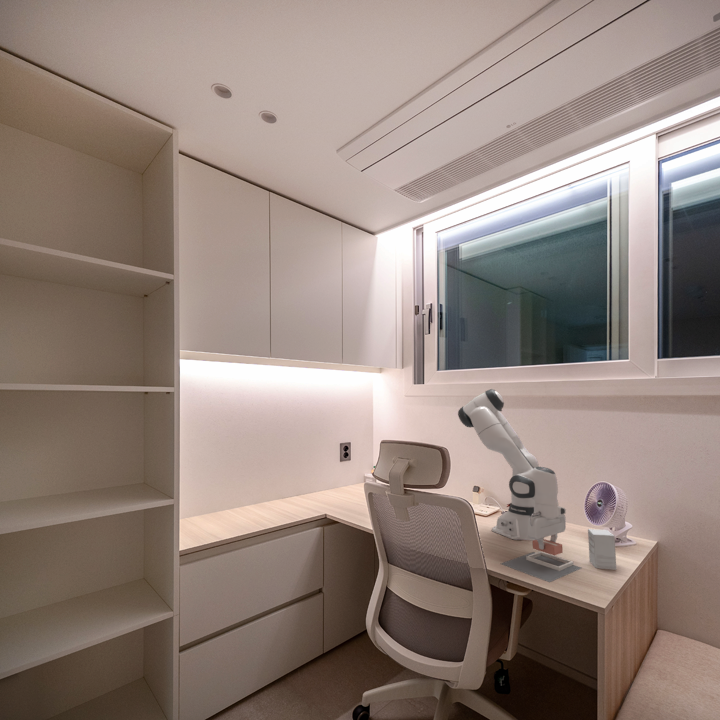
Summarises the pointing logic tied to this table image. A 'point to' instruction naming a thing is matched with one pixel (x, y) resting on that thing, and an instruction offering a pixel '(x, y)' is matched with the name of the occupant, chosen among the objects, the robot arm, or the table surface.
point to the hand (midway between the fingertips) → (547, 547)
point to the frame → (568, 563)
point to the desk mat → (540, 567)
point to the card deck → (549, 547)
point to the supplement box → (602, 549)
